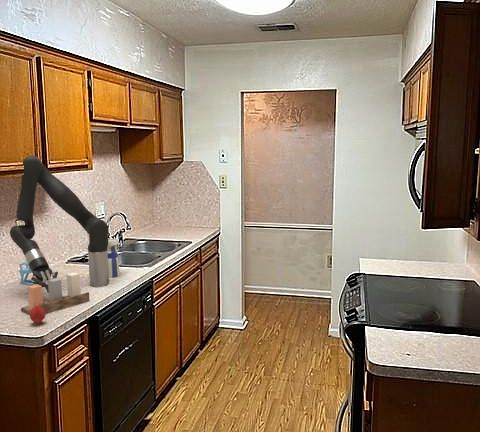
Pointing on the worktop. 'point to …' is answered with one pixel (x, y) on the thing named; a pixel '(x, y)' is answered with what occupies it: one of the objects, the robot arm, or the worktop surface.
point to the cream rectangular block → (73, 284)
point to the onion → (37, 314)
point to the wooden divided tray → (60, 303)
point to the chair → (23, 271)
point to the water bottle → (113, 258)
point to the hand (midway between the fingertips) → (52, 292)
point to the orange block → (35, 296)
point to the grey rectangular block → (55, 289)
